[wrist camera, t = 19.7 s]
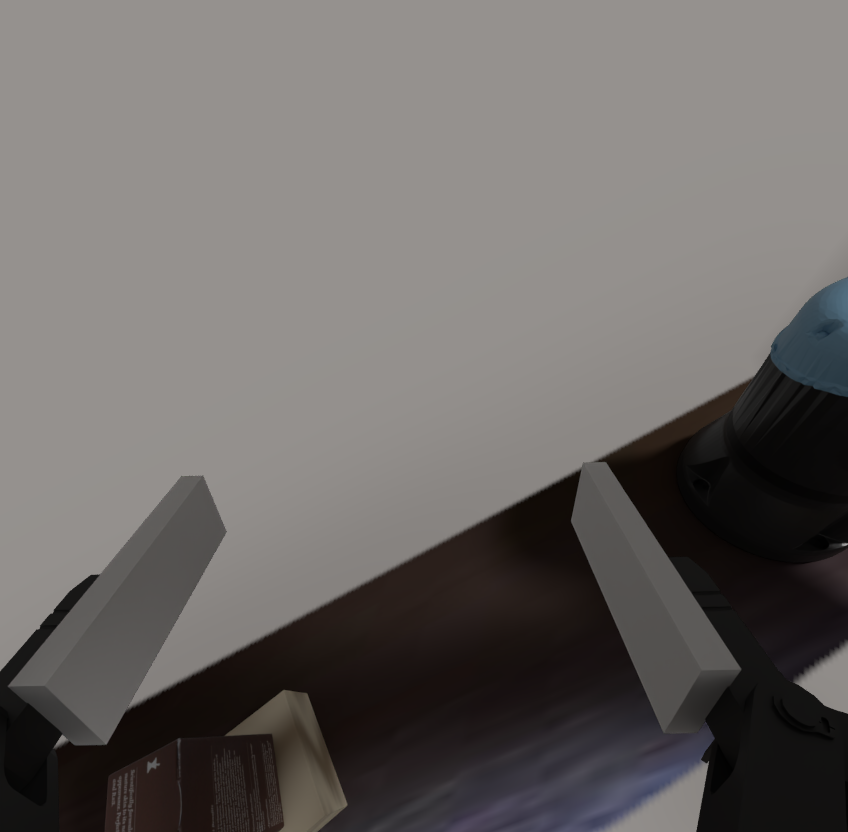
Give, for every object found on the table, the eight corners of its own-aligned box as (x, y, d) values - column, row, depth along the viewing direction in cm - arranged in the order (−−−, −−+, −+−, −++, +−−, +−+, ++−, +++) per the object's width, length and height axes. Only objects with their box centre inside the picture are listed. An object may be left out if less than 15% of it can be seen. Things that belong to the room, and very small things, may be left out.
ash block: (349, 804, 32) (325, 815, 28) (249, 892, 30) (208, 916, 26) (308, 693, 38) (283, 690, 34) (221, 762, 36) (184, 766, 32)
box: (218, 760, 31) (104, 772, 22) (273, 731, 32) (185, 731, 23) (225, 866, 27) (90, 934, 18) (287, 830, 28) (188, 879, 19)
